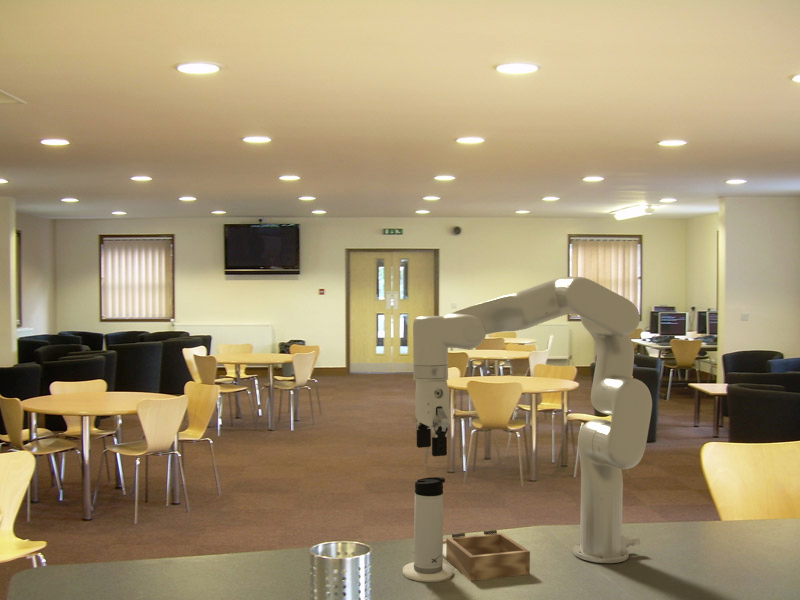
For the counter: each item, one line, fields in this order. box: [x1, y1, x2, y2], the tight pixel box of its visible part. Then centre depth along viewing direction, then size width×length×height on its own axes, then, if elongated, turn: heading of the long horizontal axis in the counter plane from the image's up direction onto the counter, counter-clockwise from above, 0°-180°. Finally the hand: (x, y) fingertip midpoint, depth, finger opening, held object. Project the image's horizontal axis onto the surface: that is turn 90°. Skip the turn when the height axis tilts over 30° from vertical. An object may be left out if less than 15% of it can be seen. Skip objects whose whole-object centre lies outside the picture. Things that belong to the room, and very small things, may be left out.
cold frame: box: [443, 529, 531, 582], centre depth 189 cm, size 14×25×6 cm, turn 18°
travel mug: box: [413, 476, 446, 574], centre depth 179 cm, size 6×7×20 cm
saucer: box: [402, 561, 454, 583], centre depth 179 cm, size 11×11×1 cm
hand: (431, 451), depth 179 cm, fingers open, 9 cm apart
